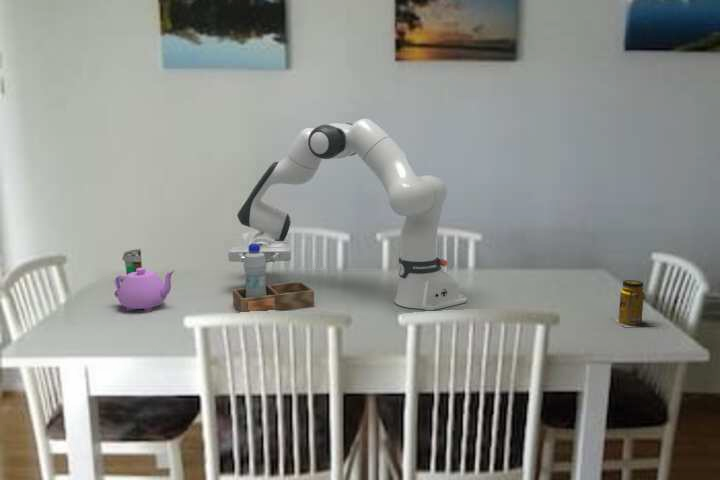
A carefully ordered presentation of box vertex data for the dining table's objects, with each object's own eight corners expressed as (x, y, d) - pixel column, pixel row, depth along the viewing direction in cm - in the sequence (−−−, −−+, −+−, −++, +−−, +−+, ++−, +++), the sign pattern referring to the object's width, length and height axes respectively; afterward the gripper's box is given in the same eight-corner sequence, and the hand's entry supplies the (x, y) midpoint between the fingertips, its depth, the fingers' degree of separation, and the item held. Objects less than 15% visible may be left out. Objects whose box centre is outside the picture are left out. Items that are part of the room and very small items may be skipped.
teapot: (186, 301, 207) (184, 263, 205) (167, 315, 193) (165, 275, 191) (126, 299, 210) (123, 262, 207) (103, 312, 196) (100, 273, 193)
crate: (302, 296, 211) (301, 281, 210) (314, 306, 201) (314, 291, 200) (233, 305, 203) (232, 289, 202) (242, 316, 192) (241, 300, 191)
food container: (124, 276, 237) (122, 249, 235) (142, 275, 238) (140, 248, 236) (123, 285, 225) (121, 257, 223) (142, 284, 227) (140, 256, 225)
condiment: (612, 319, 188) (615, 278, 185) (640, 318, 189) (644, 278, 186) (624, 327, 181) (628, 285, 178) (654, 326, 182) (658, 284, 179)
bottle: (263, 311, 196) (261, 246, 192) (242, 310, 197) (239, 245, 193) (270, 305, 202) (268, 241, 198) (250, 304, 204) (247, 241, 200)
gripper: (230, 241, 221) (224, 250, 207) (291, 240, 222) (289, 249, 208) (231, 259, 222) (225, 269, 208) (291, 258, 223) (290, 268, 210)
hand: (258, 259), depth 208 cm, fingers open, 8 cm apart
